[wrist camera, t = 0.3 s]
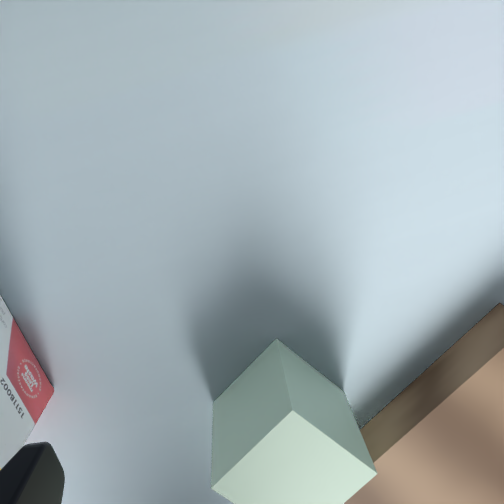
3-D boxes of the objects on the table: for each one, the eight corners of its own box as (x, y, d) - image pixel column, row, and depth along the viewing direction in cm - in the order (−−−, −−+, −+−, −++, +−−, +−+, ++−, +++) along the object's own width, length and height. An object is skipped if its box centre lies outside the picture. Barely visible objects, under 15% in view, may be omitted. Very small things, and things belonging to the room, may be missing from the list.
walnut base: (464, 558, 31) (488, 605, 28) (323, 455, 28) (334, 497, 25) (628, 429, 29) (673, 466, 26) (494, 299, 25) (529, 325, 23)
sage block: (280, 450, 27) (296, 544, 21) (213, 401, 26) (210, 488, 20) (343, 390, 26) (377, 473, 20) (276, 337, 25) (292, 410, 19)
